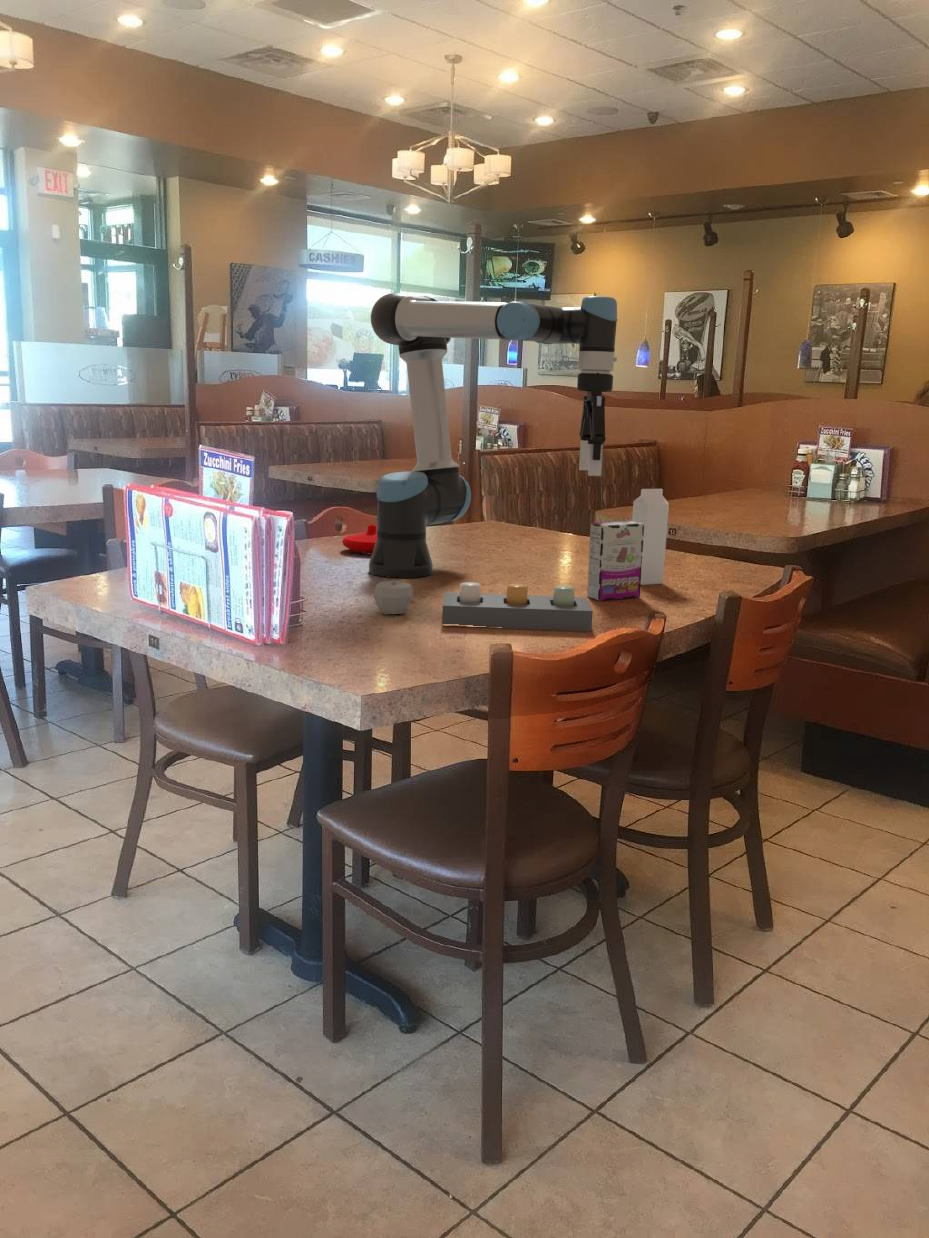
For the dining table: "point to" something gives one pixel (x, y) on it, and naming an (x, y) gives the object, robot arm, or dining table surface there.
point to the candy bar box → (615, 560)
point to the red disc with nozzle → (362, 540)
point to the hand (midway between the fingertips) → (589, 473)
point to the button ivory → (470, 592)
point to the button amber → (516, 594)
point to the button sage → (563, 596)
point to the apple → (393, 596)
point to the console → (518, 613)
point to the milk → (652, 533)
